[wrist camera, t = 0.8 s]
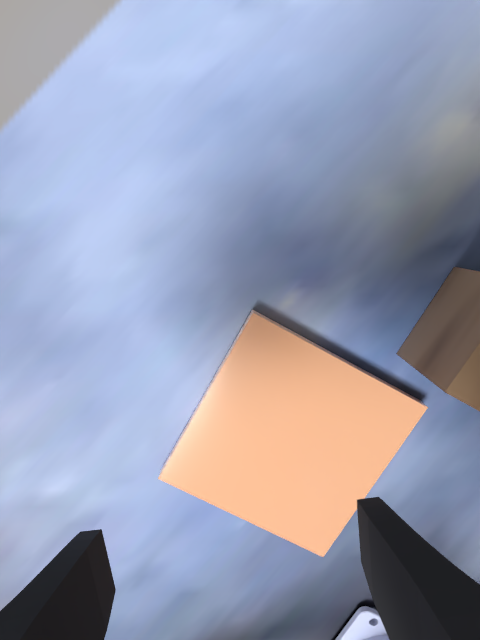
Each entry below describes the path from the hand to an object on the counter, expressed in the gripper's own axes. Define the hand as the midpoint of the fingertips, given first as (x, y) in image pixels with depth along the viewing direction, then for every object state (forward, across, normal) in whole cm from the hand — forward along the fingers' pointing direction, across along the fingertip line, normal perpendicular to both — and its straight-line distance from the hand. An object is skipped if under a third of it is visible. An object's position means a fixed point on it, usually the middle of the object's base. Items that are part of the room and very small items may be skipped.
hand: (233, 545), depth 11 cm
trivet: (+10, -2, +2) cm, 10 cm away
